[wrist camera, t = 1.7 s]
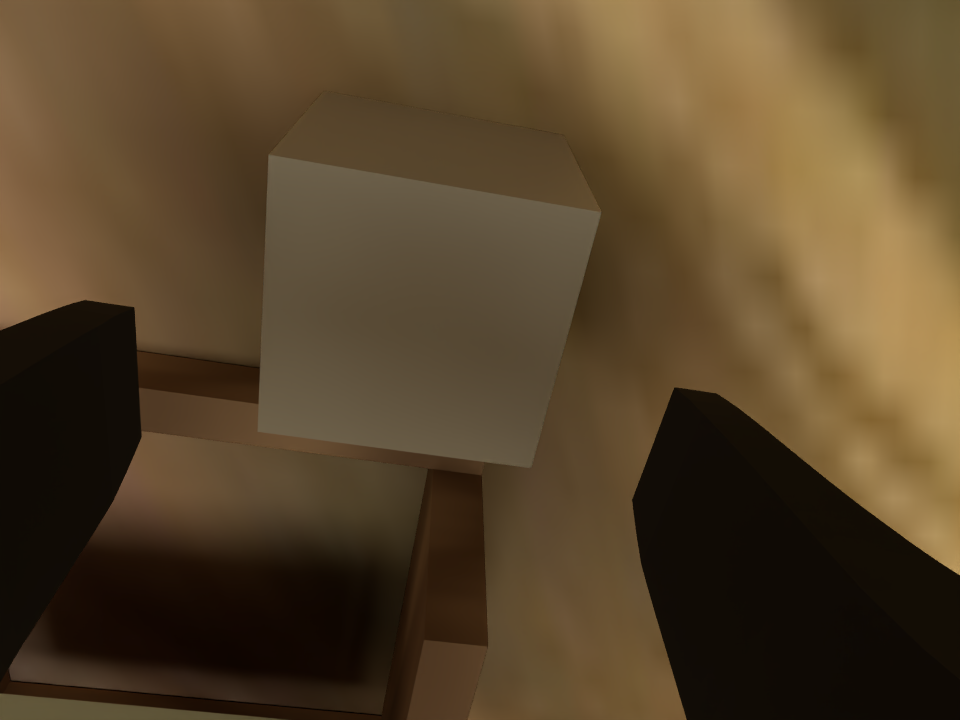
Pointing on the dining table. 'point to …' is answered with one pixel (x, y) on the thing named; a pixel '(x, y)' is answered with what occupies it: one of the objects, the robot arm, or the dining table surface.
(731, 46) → the dining table surface
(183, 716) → the flap
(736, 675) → the robot arm
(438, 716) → the frame
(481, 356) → the beige cube
